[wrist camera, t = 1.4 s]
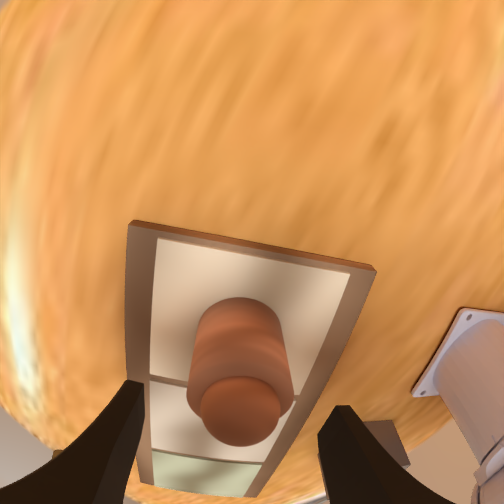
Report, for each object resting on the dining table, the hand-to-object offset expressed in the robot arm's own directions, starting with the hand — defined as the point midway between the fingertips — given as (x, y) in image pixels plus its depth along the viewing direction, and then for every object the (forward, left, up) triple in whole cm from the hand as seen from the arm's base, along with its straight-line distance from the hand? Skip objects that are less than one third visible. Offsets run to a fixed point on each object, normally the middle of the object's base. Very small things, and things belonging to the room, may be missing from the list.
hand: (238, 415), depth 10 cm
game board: (0, +9, -6) cm, 11 cm away
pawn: (0, 0, -5) cm, 5 cm away
